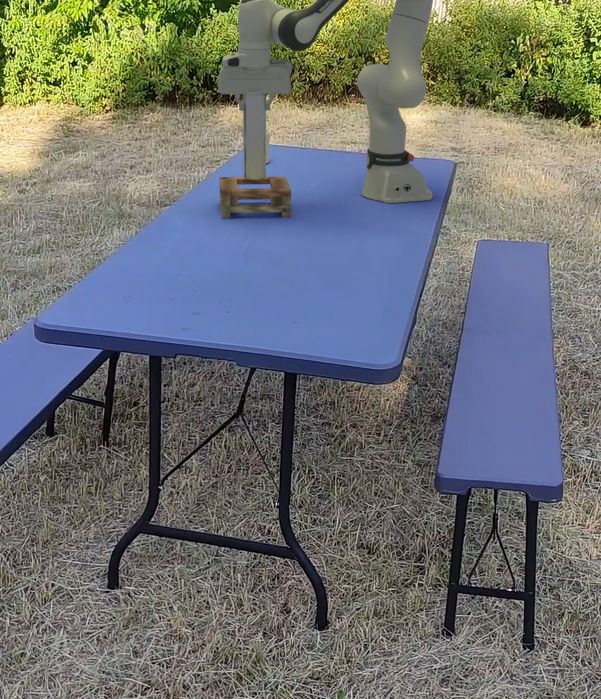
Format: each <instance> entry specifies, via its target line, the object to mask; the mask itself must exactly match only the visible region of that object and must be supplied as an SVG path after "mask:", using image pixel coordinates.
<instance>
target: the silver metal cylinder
mask: <svg viewBox="0 0 601 699" xmlns="http://www.w3.org/2000/svg"><path fill="white" fill-rule="evenodd" d="M242 103H243V104H245V107H244V108H245V110H243V111H242V118H243V119H242V121H243V122H242V124H243V125H242V128H243V131H242V132H243V133H242V134H243V135H242V136H243V138H242V139H243V141H242V142H243V143H242V144H243V145H242V146H243V177H244V178H245V179H248V180H262V179H265V178H266V177H267V163H266V128H267V110H266V103H267V94H263V91H246V94H242Z"/></svg>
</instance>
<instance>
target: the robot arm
mask: <svg viewBox="0 0 601 699" xmlns="http://www.w3.org/2000/svg"><path fill="white" fill-rule="evenodd" d="M349 1H350V0H314V1H313V2H312V3H310V4H309V5H308V6H307V7H305V8H302V9H297V10H296V9H292V8H288V7H286V6H284V5H283V6H282V4H281V5H280V4H279V3H277V2H275V1H273V0H241V1H240V3H239V7H238V15H237V16H238V17H237V33H238V35H239V40H238V41H239V42H238V49H237V50H238V51H236V52H233V53H229V54H226V55H224V56H223V57H222V60H221V61H222V66H221V68H220V70H219V74H218V83H217V84H218V86H217V87H218V88H217V89H218V93H220V94H221V95H234V98H235V100H236V102H237V103H238V111H242V112H243V110H245V108H244V107H245V104H243V102H242V101H241V100H240V98H241V95H243V94H246V91H263V94H266V95H268V98H269V99H268V101H267V102H266V111H271V105H272V103H273V101H274V99H275V95H288V94H290V92H291V90H292V88H291V87H292V86H291V85H292V84H291V83H292V82H291V75H292V72H293V65H292V63H291V61H290V60H288V59H287V58H282V59H278V58H271V46H272V44H277V45H280V46H283V47H285V48H288V49H289V50H292V51H294V52H302V51H305V50H307V49H310V47H311V46H312V45H314V43H315V41H316V39H317V37H319V36H318V35H320V32H321V31H322V29H323V28H324V27H325V26H326V25H327V23H328V22H329V21H330V20H332V19H333V18H334V16H336V15H337V14H338V13H339V12H340V11H341V9H342V8H344V7H345V6H346V4H347V3H349ZM433 2H434V0H395V4H394V7H393V10H392V13H391V17H390V20H389V24H388V28H387V31H386V34H385V38H384V42H385V46H386V47H387V49H388V53H389V56H388V57H389V63H388V64H384V63H374V64H373V63H372V64H368V65H366V66H364V67H363V68H362V69H361V71H360V72H359V74H358V76H357V83H356V84H357V88H358V91H359V92H360V94H361V95H362V97H363V100H364V102H365V106H366V110H367V115H368V119H369V120H368V121H369V140H368V141H369V145H368V149H367V152H366V153H367V154H366V160H365V163H366V168H367V169H366V172H365V173H366V174H365V178H364V183H363V187H362V190H361V192H360V194H361V196H363V197H365V198H367V199H370V200H374V201H379V202H384V203H387V204H394V203H395V204H398V203H409V202H423V201H431V200H433V196H434V195H433V192H432V190H431V189H430V188H428V187H427V181H426V178H425V175H424V174H423V173H422V172H421V171H420V170H419V169H417V167H415V166H414V165H413V164H412V163H410V162H413V161H414V160H415V156H414V155H413V153H410V151H407V150H405V148H406V135H407V134H406V133H407V125H406V123H405V121H404V119H403V118H402V116H401V113H400V109H414V108H417V107H418V106H420V105H421V103H422V102H423V101H424V99H425V97H426V94H427V83H426V81H425V79H424V76H423V73H422V68H421V57H422V50H423V49H422V48H423V43H424V41H425V38H426V33H427V29H428V26H429V22H430V19H431V14H432V8H433Z"/></svg>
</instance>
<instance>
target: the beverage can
mask: <svg viewBox="0 0 601 699" xmlns="http://www.w3.org/2000/svg"><path fill="white" fill-rule="evenodd" d="M269 162H270V131H269V128H268V127H266V164H268V163H269Z"/></svg>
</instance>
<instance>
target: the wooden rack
mask: <svg viewBox="0 0 601 699" xmlns="http://www.w3.org/2000/svg"><path fill="white" fill-rule="evenodd" d="M218 179H219V205H220V213H221V214H220V215H221V216H222V217H221V219H222V218H228V219H231V214H234V213H235V214H237V213H238V214H240V213H241V214H243V213H281V218H283V219H284V218H285V219H286V218H290V219H291V215H292V190H291V187H290V183H289V181H288V179H287V176H266V178H265V179H262V180H248V179H245V178H244V176H224V177H223V176H220V177H219V178H218ZM239 185H240V186H242V185H243V186H244V185H270V186H269V187H270V188H239ZM250 200H251V201H252V200H255V201H258V200H259V201H260V200H261V201H263V200H269V201H270V203H269V204H268V203H265V204H263V203H262V204H253V203H252V204H239V201H250Z"/></svg>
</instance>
